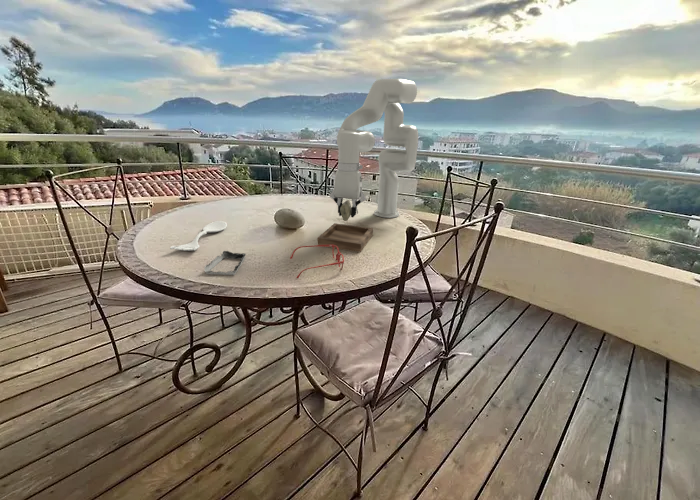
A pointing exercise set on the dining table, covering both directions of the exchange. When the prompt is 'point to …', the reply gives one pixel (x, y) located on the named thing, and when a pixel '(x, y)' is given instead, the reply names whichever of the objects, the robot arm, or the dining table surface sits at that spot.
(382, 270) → the dining table surface
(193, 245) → the spoon
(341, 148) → the robot arm
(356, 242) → the wooden tray
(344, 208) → the cuneiform tablet
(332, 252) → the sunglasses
